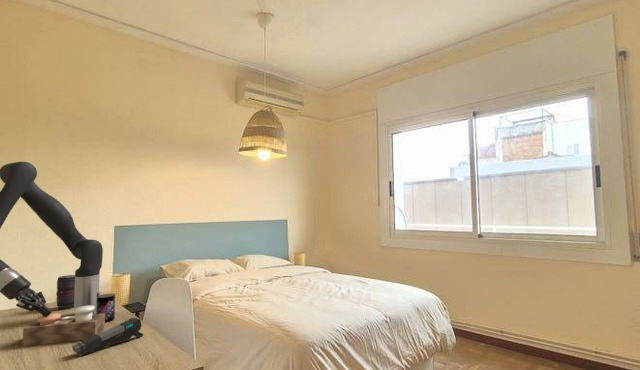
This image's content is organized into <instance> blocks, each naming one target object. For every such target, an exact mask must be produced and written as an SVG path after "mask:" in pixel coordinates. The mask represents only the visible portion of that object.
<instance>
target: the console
mask: <svg viewBox="0 0 640 370" xmlns="http://www.w3.org/2000/svg"><path fill="white" fill-rule="evenodd" d="M105 329H106V323H105V314H94V315H92V319H91V320H90V321H80V322H75V316H74V315H70V316H61V318H60V319H58V322H57V323H55V324H48V325H40V323H39V322H38V319H37V320H36V321H34V322H31V323H30V324H29V325H27V326H25V327H23V328H22V330H23V331H22V347H29V346H38V345H47V344H53V343H54V344H57V343H64V342H73V341H76V342H77V341H82V340H84V339H87V338H89V337H91V336H93V335H96V334H99V333H102V332H104V331H105Z"/></svg>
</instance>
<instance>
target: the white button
mask: <svg viewBox="0 0 640 370" xmlns="http://www.w3.org/2000/svg"><path fill="white" fill-rule="evenodd" d="M94 309H95V306H92V305H89V306H81V307H77V308H72V313H73V315H74V314H75V322H80V321H90V320H91V319H92V311H94Z"/></svg>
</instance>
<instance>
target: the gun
mask: <svg viewBox="0 0 640 370" xmlns="http://www.w3.org/2000/svg"><path fill="white" fill-rule="evenodd" d="M142 326H143V325H142V321H141V319H139V318H137V317H132V318H131V317H130V318H129V319H127V320H125V321H122V322H120V323H119V324H117V325H116V326H113V327H111V328H108V329H106V330H103V331H102V332H101V333H99V334H96V335H93V336H91V337H89V338H87V339H84V340H80V342H76V343H75V344H73V345H71V347H72V348H71V349H72V351H73V352H75V353H76V355H77V356H78V357H83V356H84V355H86V354H88V353H94V352H96V351H98V350H101V349H102V348H103V347H106V346H107V345H109V344H110V345H113V344H115V345H117V344H119V343H122V342H123V341H129V340H130V339H131V338H132V337H136V338H140V337H142V338H143V336H144V333H142V332H140V330H141V329H142ZM140 339H141V338H140Z"/></svg>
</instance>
